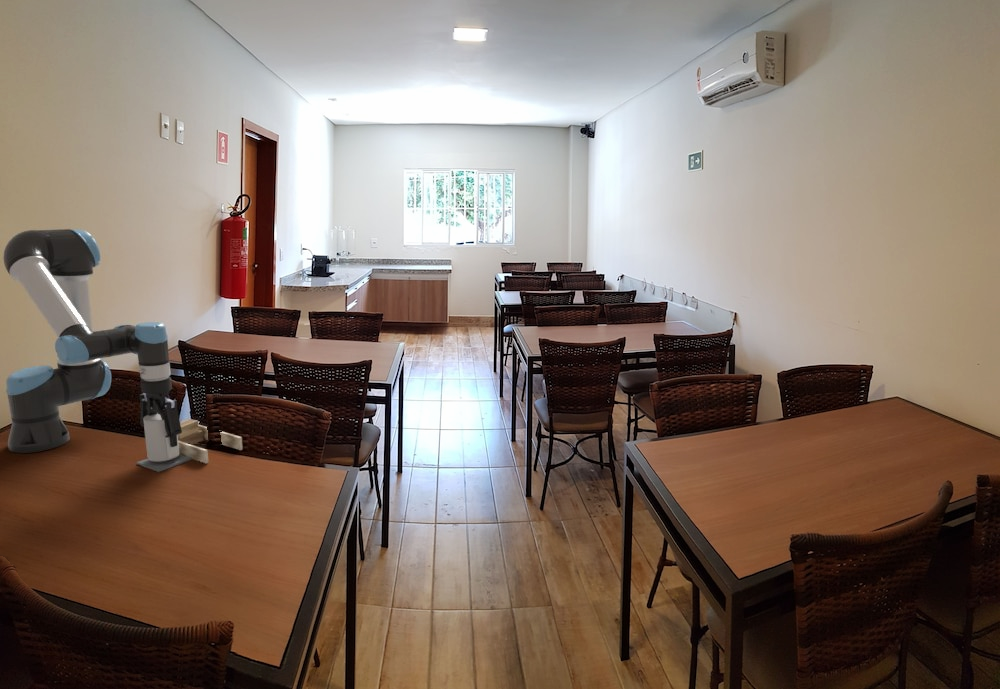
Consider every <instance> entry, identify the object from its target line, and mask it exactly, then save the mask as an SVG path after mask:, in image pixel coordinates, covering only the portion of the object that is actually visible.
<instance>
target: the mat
mask: <svg viewBox="0 0 1000 689" xmlns="http://www.w3.org/2000/svg"><path fill="white" fill-rule="evenodd" d="M191 460H192V459H191V458H190V457H187V456H184V455H181V454H179V455H178V456H177V457H176V458H173V459H170V460H166V461H158V462H156V461H150V460H148V458H146V459H142V460H139V461H136V464H137V465H138V466H141V467H144V468H146V469H149V470H152V471H155V472H157V473H161V472H163V471H165V470H169V469H170V468H173V467H176V466H178V465H182V464H184V463H186V462H189V461H191Z"/></svg>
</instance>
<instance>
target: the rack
mask: <svg viewBox="0 0 1000 689" xmlns="http://www.w3.org/2000/svg"><path fill="white" fill-rule="evenodd" d="M198 427H199V430H201V431H203V440H205V441H209V440H208V430H207V427H208V426H206V425H201V424H199V423H198ZM220 435H221V442H222V444H221V445H223V446H225V447H229V448H232V449H236V450H239V451H242V450H243V437H242V436H239V435H235V434H232V433H229V432H225V431H222V432H220ZM178 444H179V454H181V455H184V456H187V457H190V458H191V460H194V461H197V462H199V461H200V463H202V462H203V464H209V454H208V453H209V451H208V449H205V448H203V447H199V446H196V445H195V444H192V445H191V444H187V443H184V442H181V441H178Z"/></svg>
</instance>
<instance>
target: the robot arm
mask: <svg viewBox="0 0 1000 689" xmlns="http://www.w3.org/2000/svg"><path fill="white" fill-rule="evenodd" d="M2 259H3V263H4V267H5V270H6V271H7V273H8V274H9V276H10V278H12V280H14V281H15V282H18V283H20V284H21V285H22V287H23V289H24V290H25V292H26V293H27V294H28V297H30V300H32V302H33V303H34V304H35V306H36V308H37V309H38V310H39V312H40V314H41V315H42V316H43V318H44V319H45V321H46V322H47V324H48V325H49V326H50V328H51V329H52V331H53V332H54V333H55V335H56V336H57V339H56V340H55V344H54V350H55V353H56V354H57V358H58V359H57V361H56V364H57V365H56V366H57V368H53V367H52V366H51V365H37V366H30V367H25V368H22V369H20V370H16V371H15V372H13V373H11V374H10V375H8V377H7V378H6V380H5V383H6V391H5V392H6V395H7V399H8V406H9V411H10V417H11V427H10V432H9V435H8V439H7V447H8V450H9V451H10V452H12V453H17V454H27V453H28V454H30V453H37V452H42V451H49V450H51V449H55V448H58V447H60V446H64V445H65V444H67V443H68V442H69V441H70V432H69V430H68V427H67V426H66V425H65V423H64V422H63V419H62V418H61V417H60V410H59V408H60V407H61V406H65V405H66V406H67V405H70V404H75V403H78V402H79V403H80V402H82V401H83V402H84V401H88V400H94V399H95V398H98V397H102V396H104V395H106V394H107V392H108V391H109V390H110V387H111V385H112V384H111V383H112V372H111V369H110V366H109V364H108V363H107V362H106V361H104V360H102V359H104V358H105V359H106V358H110V357H111V358H112V357H117V356H122V355H123V356H124V355H128V354H135V355H137V359H138V360H137V361H138V367H139V368H138V369H139V370H138V372H139V375H140V376H139V377H140V378H141V379H140V388H141V389H140V390H141V392H142V393H140V394H138V397H139V401H140V403H139V404H140V405H139V406H140V412H139V413H140V418H139V419H140V422H139V423H140V426H141V427H144V421H143V418H144V417H145V416H147V415H148V416H151V415H154V414H157V413H158V414H159V415H160V416H161V418H162V420H164V423H165V430H166V432H167V436H165V437H166V446H167V456H168V458H172V457H175V456H177V455H178V448H177V435H178V434H180V433H182V430H181V425H180V422H181V421H180V417H179V416H180V415H179V411H178V400H176V399H173V400H172V399H170V398H171V397H170V395H169V392H170V391H171V390H172V388H173V387H172V384H173V383H172V378H171V377H170V376H171V363H170V356H169V355H170V354H169V353H170V352H169V343H168V342H169V340H168V338H169V337H168V334H167V329H166V325H165V324H164V323H163V322H159V321H158V322H155V321H149V322H147V321H146V322H142V323H138V324H136V325H132V324H119V325H116V326H114V328H109V329H103V330H98V331H97V330H95V331H94V328H93V319H92V309H91V308H92V307H91V300H90V298H91V297H90V288H89V279H90V277H92V276H93V274H94V269H93V268H96V267H97V266H99V265H100V261H101V253H100V248H99V246H98V243H97V242H96V239H95V238H94V237H93V235H92V234H90V233H89V232H88V231H87V230H83V229H77V228H75V229H72V228H63V229H62V228H61V229H58V228H57V229H39V230H36V229H29V230H24V231H21V232H18V233H17V234H16V235H14V236H13V237H12V238H11V239H9V241H8V242H7V243H6V246H5V247H4V249H3V258H2Z"/></svg>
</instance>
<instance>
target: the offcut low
mask: <svg viewBox="0 0 1000 689" xmlns="http://www.w3.org/2000/svg"><path fill="white" fill-rule="evenodd" d="M178 441H181V442H184V443H187V444H188V443H190V444H191V445H195V444H198V443H199V442H203V441H204V439H203V431H201V430H199V431H198V432H196V433H193V434H191V435H188V436H186V437H184V438H181V439H180V438H178Z"/></svg>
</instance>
